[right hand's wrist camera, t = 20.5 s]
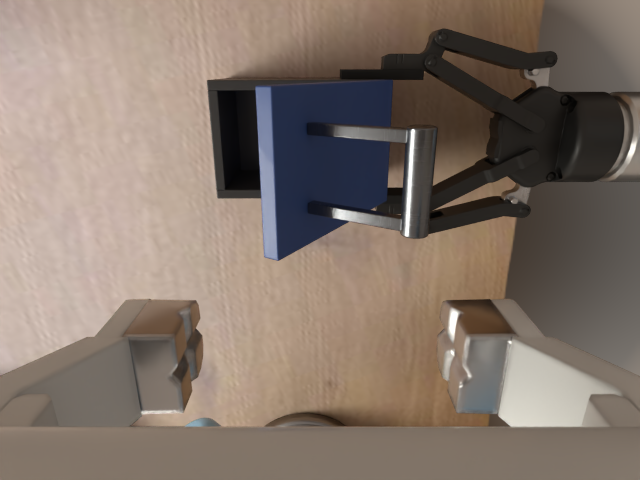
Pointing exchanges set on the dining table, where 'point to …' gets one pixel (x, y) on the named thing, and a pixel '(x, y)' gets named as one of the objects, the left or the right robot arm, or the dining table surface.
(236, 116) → the chest
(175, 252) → the dining table surface
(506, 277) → the dining table surface
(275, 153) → the lid
